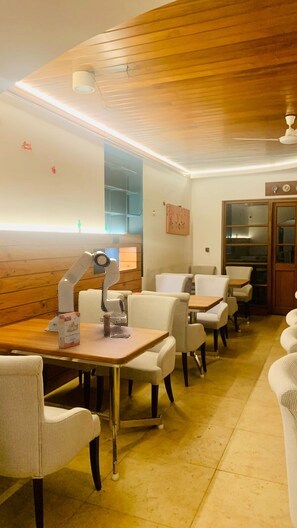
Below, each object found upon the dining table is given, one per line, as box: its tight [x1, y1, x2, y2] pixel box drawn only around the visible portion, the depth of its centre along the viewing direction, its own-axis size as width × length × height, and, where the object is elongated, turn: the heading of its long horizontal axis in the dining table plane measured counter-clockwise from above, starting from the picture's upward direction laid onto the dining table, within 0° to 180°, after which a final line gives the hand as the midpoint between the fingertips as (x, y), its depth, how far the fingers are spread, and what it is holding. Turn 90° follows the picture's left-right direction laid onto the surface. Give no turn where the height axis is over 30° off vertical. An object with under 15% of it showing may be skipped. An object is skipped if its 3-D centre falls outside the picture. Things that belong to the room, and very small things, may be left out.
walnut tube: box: [102, 313, 111, 338], centre depth 275 cm, size 5×5×15 cm
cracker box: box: [58, 311, 81, 350], centre depth 248 cm, size 14×6×21 cm, turn 146°
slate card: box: [110, 333, 131, 339], centre depth 274 cm, size 12×8×1 cm, turn 80°
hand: (110, 321), depth 286 cm, fingers open, 8 cm apart
